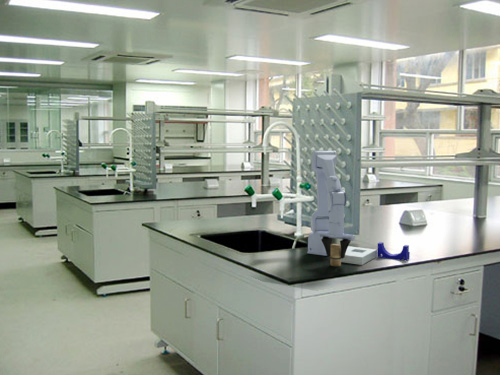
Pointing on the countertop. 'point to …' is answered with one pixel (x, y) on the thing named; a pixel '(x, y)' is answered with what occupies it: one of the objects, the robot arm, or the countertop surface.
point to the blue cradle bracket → (385, 254)
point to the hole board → (359, 255)
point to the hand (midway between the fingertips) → (335, 257)
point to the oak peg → (335, 255)
